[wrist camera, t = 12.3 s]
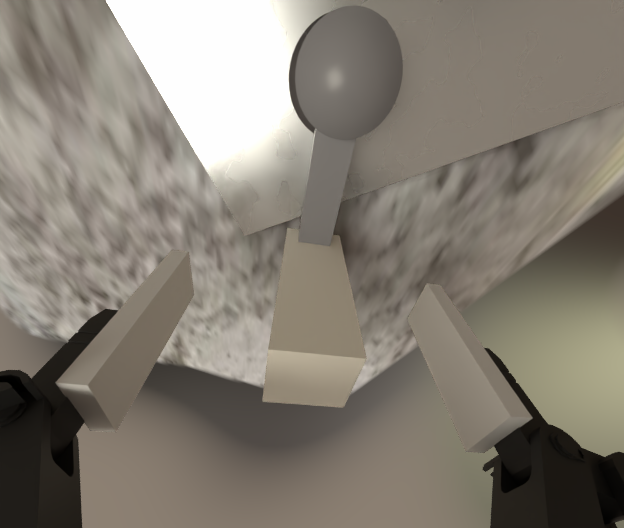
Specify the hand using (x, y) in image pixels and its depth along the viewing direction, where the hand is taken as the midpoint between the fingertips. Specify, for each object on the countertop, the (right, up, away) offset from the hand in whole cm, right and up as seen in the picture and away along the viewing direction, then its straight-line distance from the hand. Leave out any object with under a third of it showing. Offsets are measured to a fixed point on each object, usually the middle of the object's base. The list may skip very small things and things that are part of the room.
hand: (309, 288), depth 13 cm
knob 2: (+1, +6, 0) cm, 6 cm away
